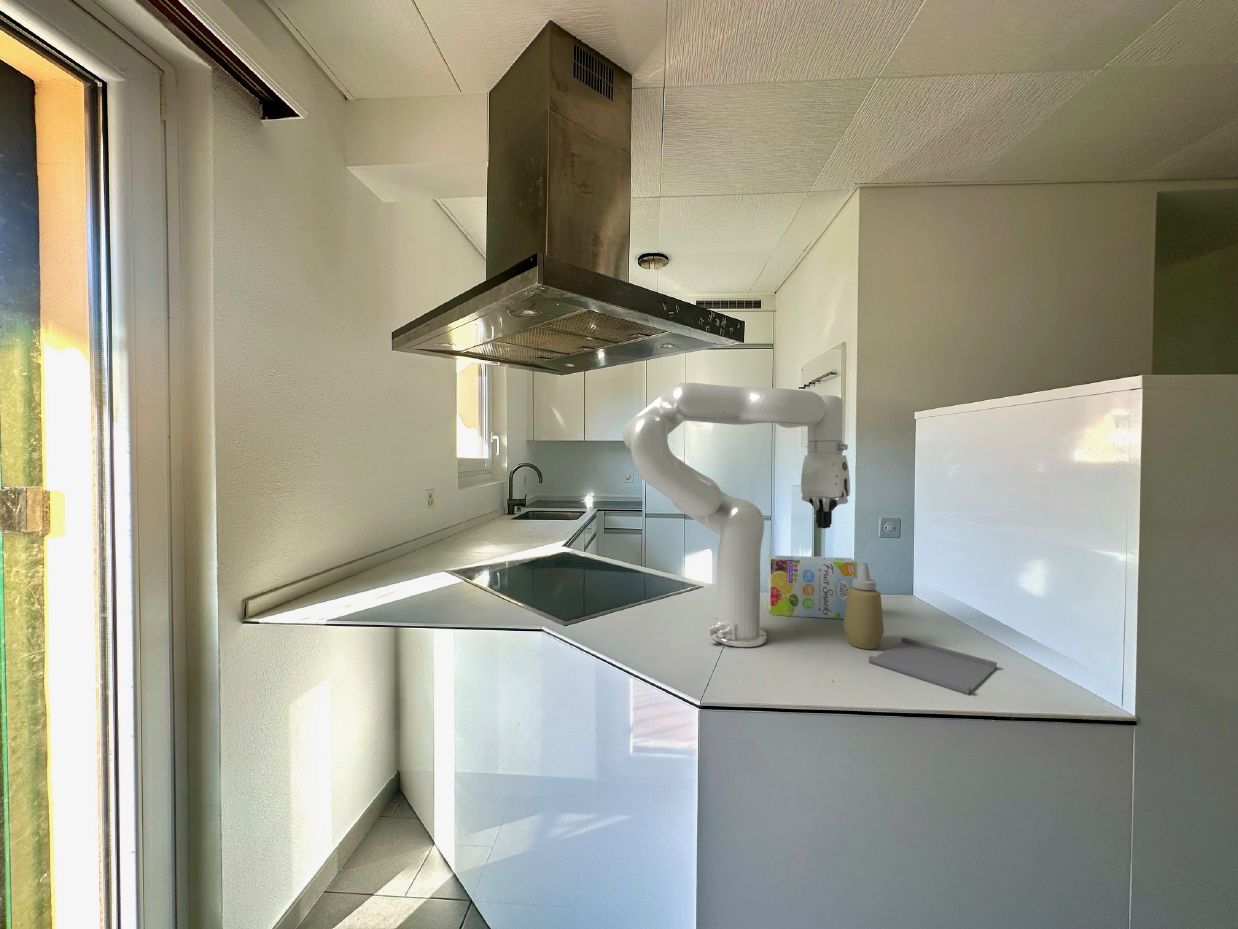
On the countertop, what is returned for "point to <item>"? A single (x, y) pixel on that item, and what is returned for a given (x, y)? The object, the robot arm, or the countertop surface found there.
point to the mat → (935, 665)
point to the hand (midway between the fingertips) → (823, 527)
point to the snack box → (809, 585)
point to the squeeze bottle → (863, 612)
